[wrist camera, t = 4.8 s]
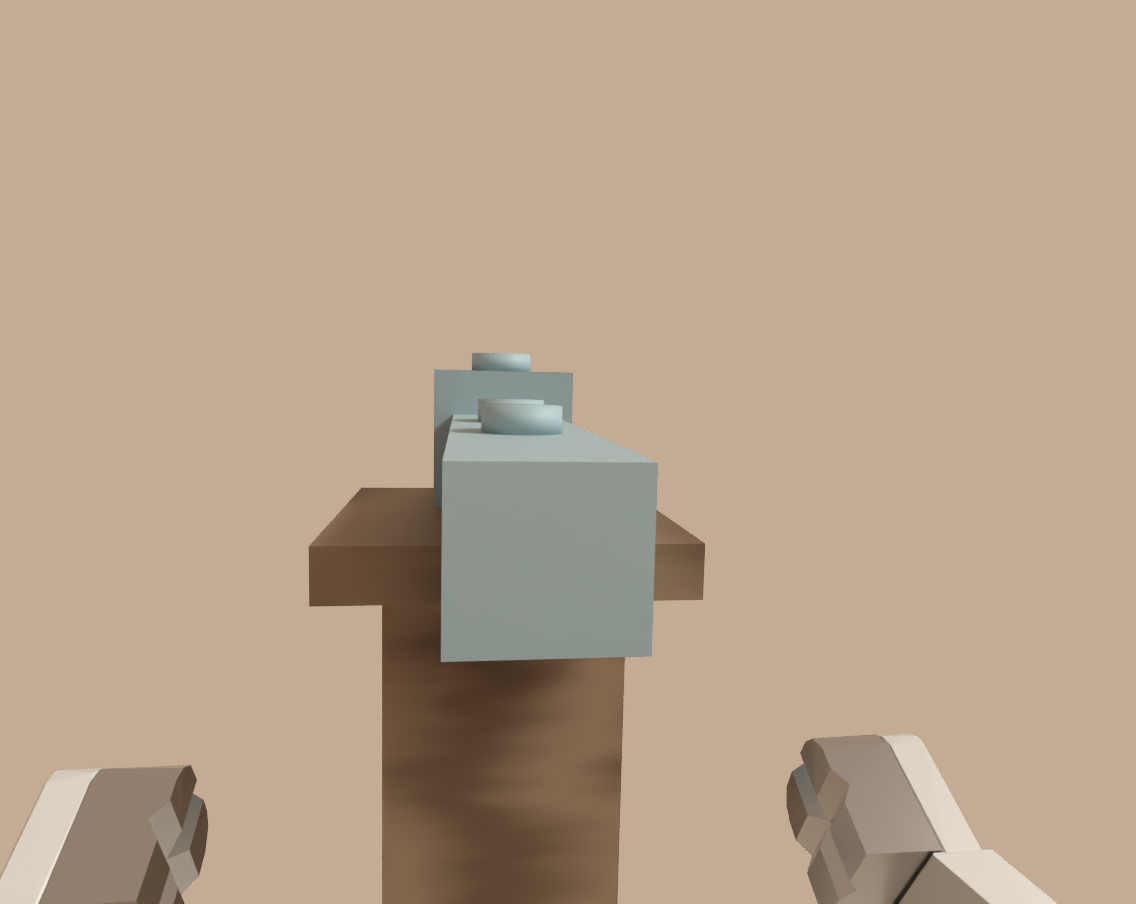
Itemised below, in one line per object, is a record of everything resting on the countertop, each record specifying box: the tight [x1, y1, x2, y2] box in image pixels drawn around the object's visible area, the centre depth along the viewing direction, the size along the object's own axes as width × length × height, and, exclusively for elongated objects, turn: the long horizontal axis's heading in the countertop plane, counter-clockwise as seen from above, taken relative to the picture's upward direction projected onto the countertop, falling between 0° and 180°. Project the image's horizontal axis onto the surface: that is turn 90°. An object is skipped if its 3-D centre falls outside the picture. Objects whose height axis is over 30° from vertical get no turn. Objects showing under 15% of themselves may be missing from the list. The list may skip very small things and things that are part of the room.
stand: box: [309, 488, 705, 904], centre depth 26 cm, size 10×10×26 cm
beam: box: [434, 353, 658, 662], centre depth 20 cm, size 4×18×5 cm, turn 8°
